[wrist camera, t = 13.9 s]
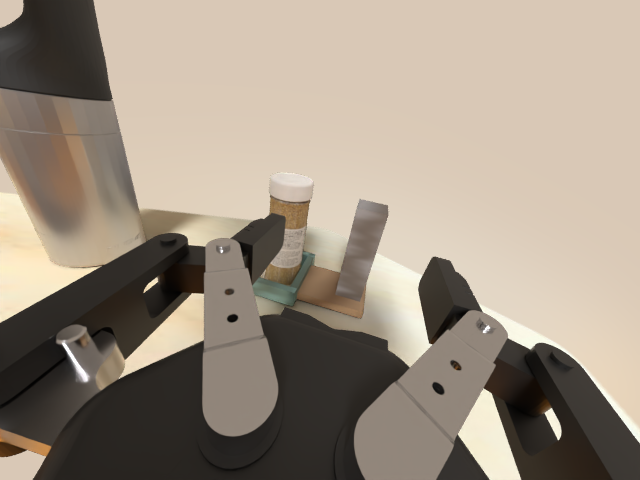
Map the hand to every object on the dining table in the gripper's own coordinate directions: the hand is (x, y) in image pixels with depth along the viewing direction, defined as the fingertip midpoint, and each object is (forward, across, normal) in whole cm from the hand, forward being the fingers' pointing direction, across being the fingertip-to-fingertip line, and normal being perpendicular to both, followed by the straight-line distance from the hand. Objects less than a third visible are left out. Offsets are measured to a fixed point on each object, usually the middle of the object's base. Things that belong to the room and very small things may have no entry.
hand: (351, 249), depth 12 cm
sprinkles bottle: (+11, +7, +14) cm, 19 cm away
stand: (+11, +4, +13) cm, 18 cm away
